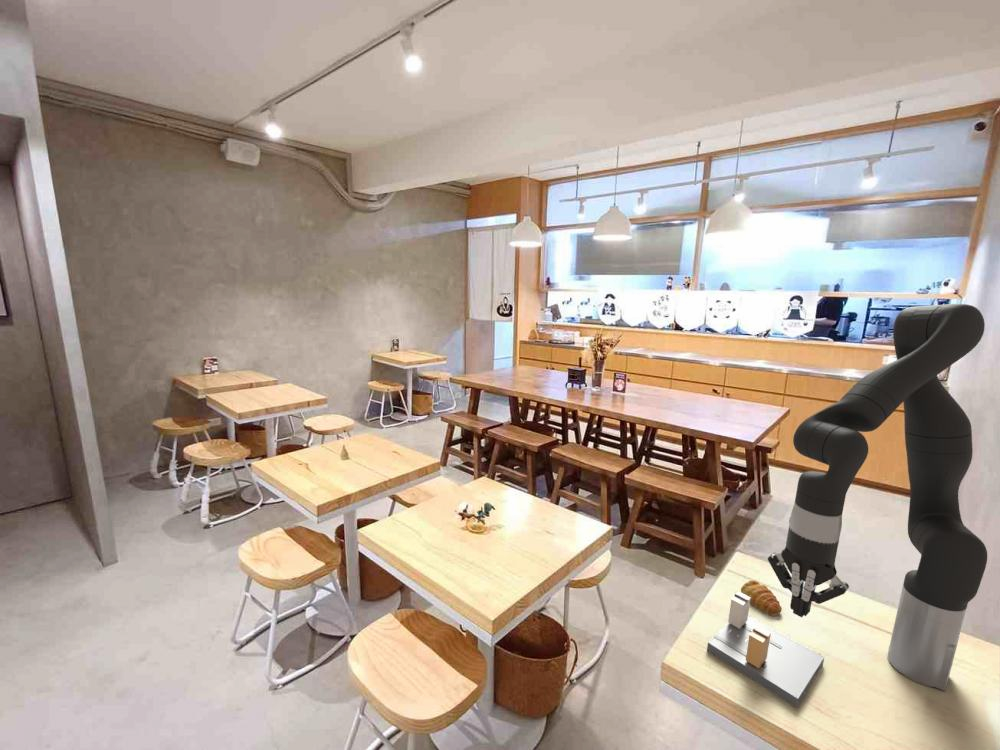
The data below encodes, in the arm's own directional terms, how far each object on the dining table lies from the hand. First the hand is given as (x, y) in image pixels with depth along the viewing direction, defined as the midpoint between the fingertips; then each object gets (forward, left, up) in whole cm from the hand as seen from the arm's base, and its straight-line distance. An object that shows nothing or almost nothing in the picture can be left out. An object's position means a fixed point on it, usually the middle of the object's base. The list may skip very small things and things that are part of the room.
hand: (798, 613), depth 84 cm
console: (+6, -5, -17) cm, 18 cm away
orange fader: (+6, 0, -14) cm, 15 cm away
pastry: (+13, -23, -17) cm, 32 cm away
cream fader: (+13, -8, -14) cm, 21 cm away
